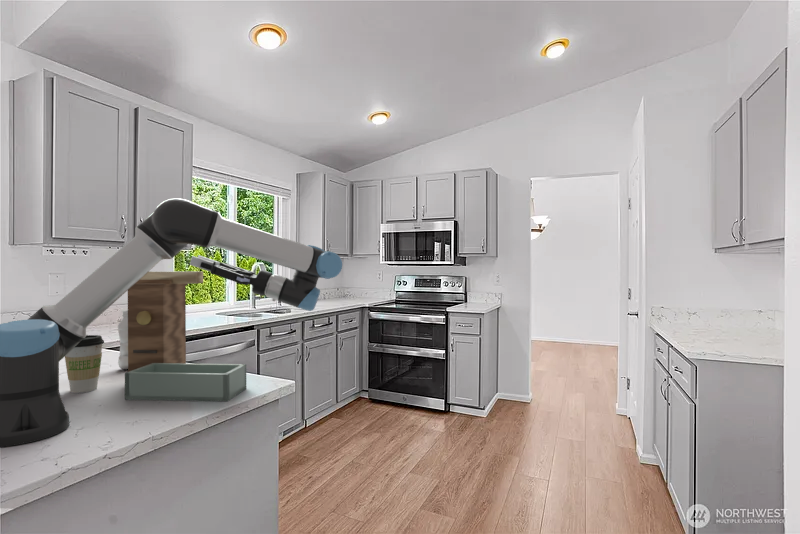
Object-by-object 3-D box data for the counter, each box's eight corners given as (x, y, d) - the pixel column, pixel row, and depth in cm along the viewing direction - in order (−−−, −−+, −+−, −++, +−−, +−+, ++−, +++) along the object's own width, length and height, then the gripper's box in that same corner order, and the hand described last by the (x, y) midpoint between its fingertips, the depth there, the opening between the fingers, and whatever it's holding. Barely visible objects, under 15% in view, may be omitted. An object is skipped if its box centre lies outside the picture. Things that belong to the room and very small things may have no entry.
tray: (227, 401, 116) (227, 374, 116) (124, 399, 118) (124, 373, 118) (246, 388, 128) (246, 364, 128) (153, 386, 130) (152, 363, 130)
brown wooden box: (162, 386, 130) (162, 280, 130) (123, 385, 131) (123, 280, 131) (188, 374, 144) (187, 278, 144) (152, 374, 145) (152, 278, 145)
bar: (195, 283, 134) (195, 271, 134) (137, 283, 137) (137, 271, 137) (203, 283, 137) (203, 271, 137) (145, 282, 141) (145, 271, 141)
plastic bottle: (133, 371, 149) (133, 311, 149) (113, 371, 149) (113, 311, 149) (144, 366, 155) (144, 309, 155) (125, 366, 156) (125, 309, 155)
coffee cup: (82, 395, 121) (82, 340, 121) (53, 393, 123) (52, 339, 123) (112, 386, 131) (112, 335, 131) (84, 384, 133) (84, 334, 133)
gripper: (258, 300, 128) (178, 273, 126) (271, 292, 145) (201, 269, 143) (266, 276, 128) (186, 249, 126) (278, 271, 145) (208, 247, 143)
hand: (194, 259), depth 134 cm, fingers open, 4 cm apart
